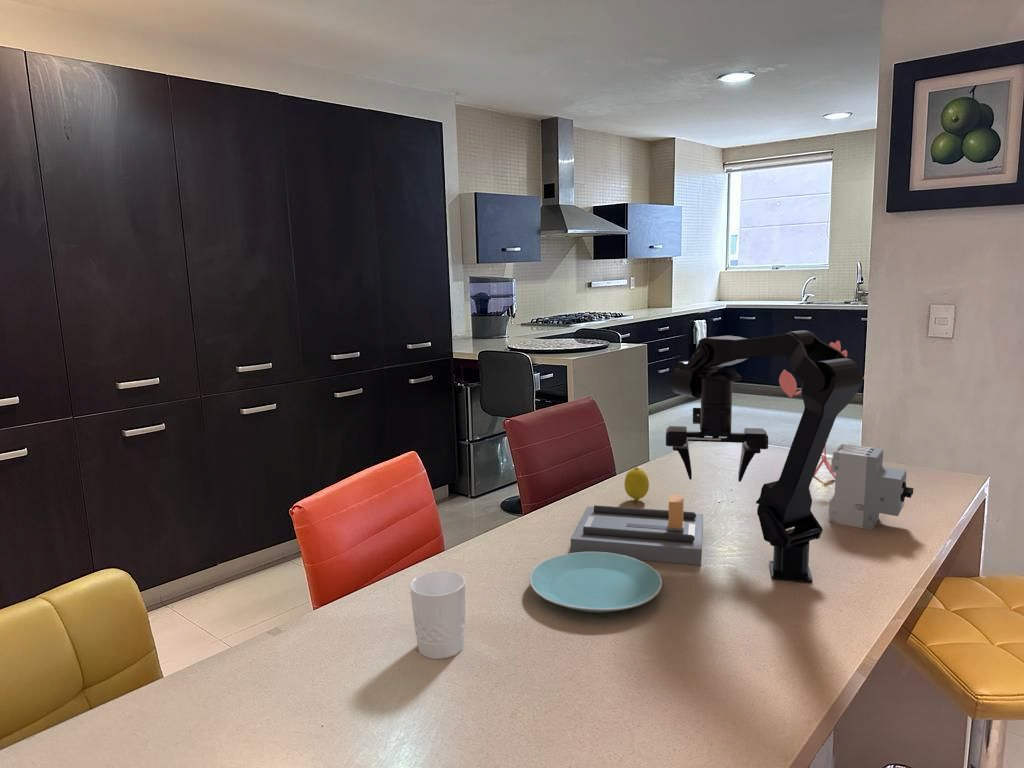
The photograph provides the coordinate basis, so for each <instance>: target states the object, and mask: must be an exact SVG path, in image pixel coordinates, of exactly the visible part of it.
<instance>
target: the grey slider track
mask: <svg viewBox="0 0 1024 768" xmlns="http://www.w3.org/2000/svg"><path fill="white" fill-rule="evenodd" d="M593 507H594V512H600V513H614V514H627V515H641V516H655V517H669V509H668V510H667V509H652V508H638V507H623V506H608V505H596V504H595V505H593ZM696 514H697V513H696V512H695V511H694V512H693V511H684V514H683V519H695V518H696ZM583 534H592V535H604V536H617V537H629V538H641V539H654V540H666V541H678V542H693V541H694V540H695V538H694V536H693V535H687V534H675V533H662V532H649V531H636V530H623V529H611V528H598V527H585V526H584V527H583Z"/></svg>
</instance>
